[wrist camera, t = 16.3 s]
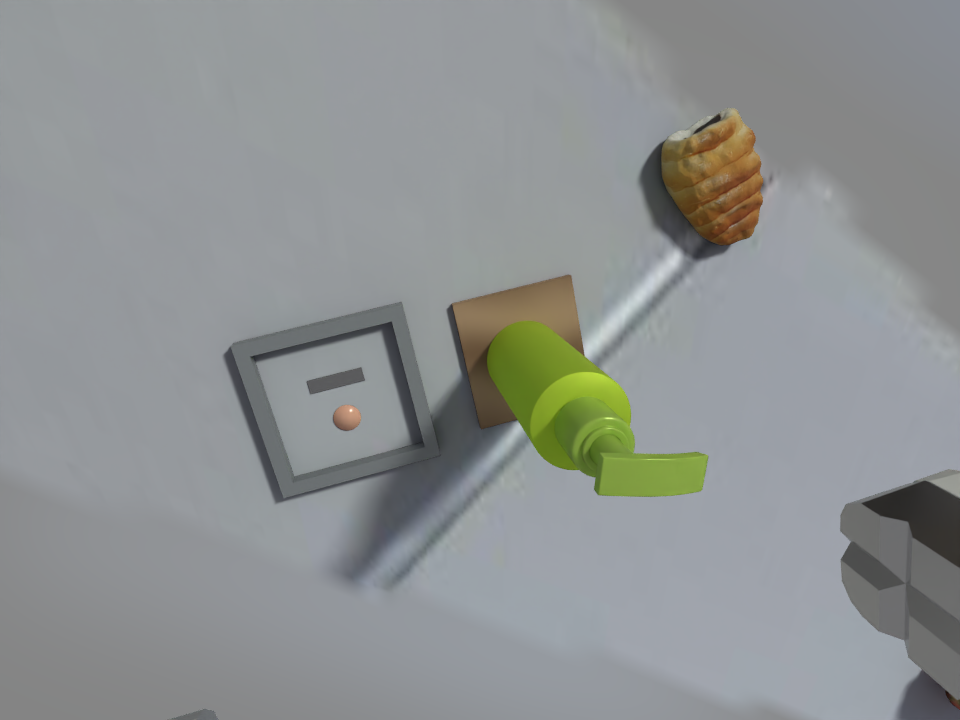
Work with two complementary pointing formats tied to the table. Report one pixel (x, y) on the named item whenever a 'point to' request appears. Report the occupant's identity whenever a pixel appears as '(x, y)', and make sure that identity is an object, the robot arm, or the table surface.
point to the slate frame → (344, 415)
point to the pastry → (715, 177)
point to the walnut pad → (498, 311)
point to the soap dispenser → (581, 416)
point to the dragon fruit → (953, 700)
